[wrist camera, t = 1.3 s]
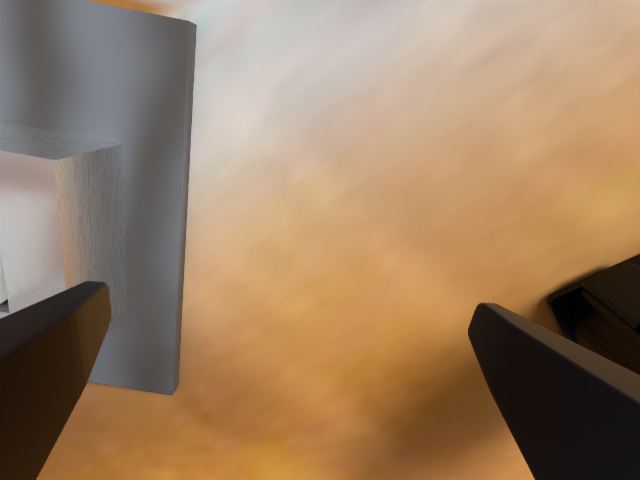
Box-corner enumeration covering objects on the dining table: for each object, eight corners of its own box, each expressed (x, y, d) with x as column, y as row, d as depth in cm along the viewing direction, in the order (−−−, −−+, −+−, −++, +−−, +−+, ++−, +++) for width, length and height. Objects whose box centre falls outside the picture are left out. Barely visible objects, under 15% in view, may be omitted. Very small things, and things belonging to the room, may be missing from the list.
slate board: (196, 25, 18) (189, 21, 17) (178, 384, 26) (172, 395, 25) (-154, -45, 17) (-182, -53, 16) (-60, 346, 25) (-75, 355, 24)
